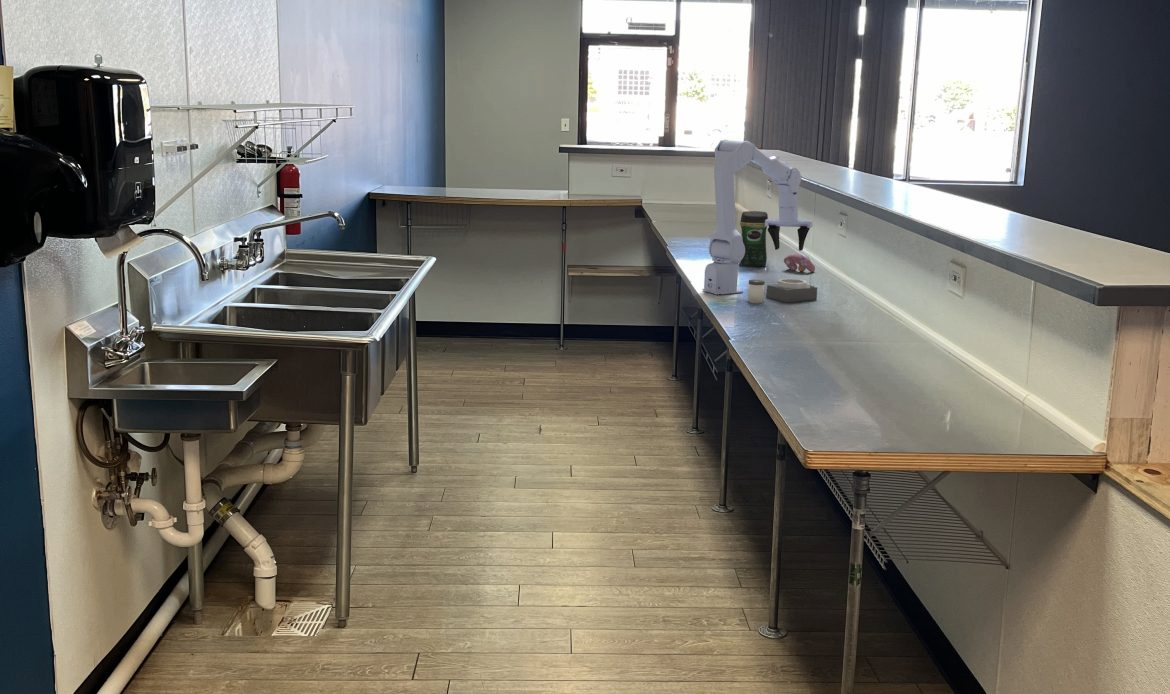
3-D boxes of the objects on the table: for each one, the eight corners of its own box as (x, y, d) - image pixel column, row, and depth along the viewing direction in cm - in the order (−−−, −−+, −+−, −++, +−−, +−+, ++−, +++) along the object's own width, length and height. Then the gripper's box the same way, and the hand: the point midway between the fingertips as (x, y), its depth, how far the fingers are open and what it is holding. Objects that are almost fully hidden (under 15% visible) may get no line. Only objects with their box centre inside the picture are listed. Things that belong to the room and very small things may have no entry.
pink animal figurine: (784, 274, 348) (780, 256, 344) (792, 266, 350) (787, 249, 347) (809, 278, 341) (805, 260, 337) (817, 270, 343) (813, 252, 340)
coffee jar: (765, 263, 358) (768, 210, 354) (766, 267, 350) (770, 212, 346) (737, 262, 359) (740, 209, 355) (738, 266, 351) (741, 212, 347)
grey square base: (786, 302, 292) (787, 285, 291) (766, 296, 300) (767, 279, 298) (816, 299, 297) (817, 282, 296) (796, 293, 305) (797, 277, 304)
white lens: (754, 303, 289) (755, 282, 288) (744, 301, 293) (745, 280, 292) (766, 302, 291) (767, 281, 290) (756, 299, 295) (758, 279, 294)
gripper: (815, 204, 316) (815, 247, 321) (770, 203, 324) (771, 245, 328) (808, 208, 311) (808, 252, 315) (762, 207, 318) (763, 250, 322)
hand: (789, 249), depth 321 cm, fingers open, 7 cm apart
